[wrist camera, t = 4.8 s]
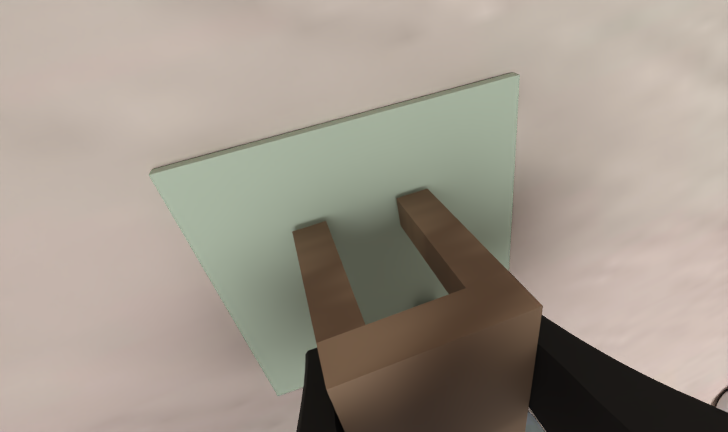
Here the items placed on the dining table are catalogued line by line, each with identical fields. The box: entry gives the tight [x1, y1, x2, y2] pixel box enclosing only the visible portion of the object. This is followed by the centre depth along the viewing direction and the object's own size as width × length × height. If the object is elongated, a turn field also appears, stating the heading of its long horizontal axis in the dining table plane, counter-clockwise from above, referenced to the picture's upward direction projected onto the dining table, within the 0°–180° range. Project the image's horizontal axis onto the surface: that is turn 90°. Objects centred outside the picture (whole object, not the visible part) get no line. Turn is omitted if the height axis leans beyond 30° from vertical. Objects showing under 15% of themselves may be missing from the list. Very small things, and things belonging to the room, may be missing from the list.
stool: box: [292, 188, 543, 432], centre depth 12 cm, size 5×7×6 cm
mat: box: [149, 73, 520, 396], centre depth 15 cm, size 12×12×1 cm
